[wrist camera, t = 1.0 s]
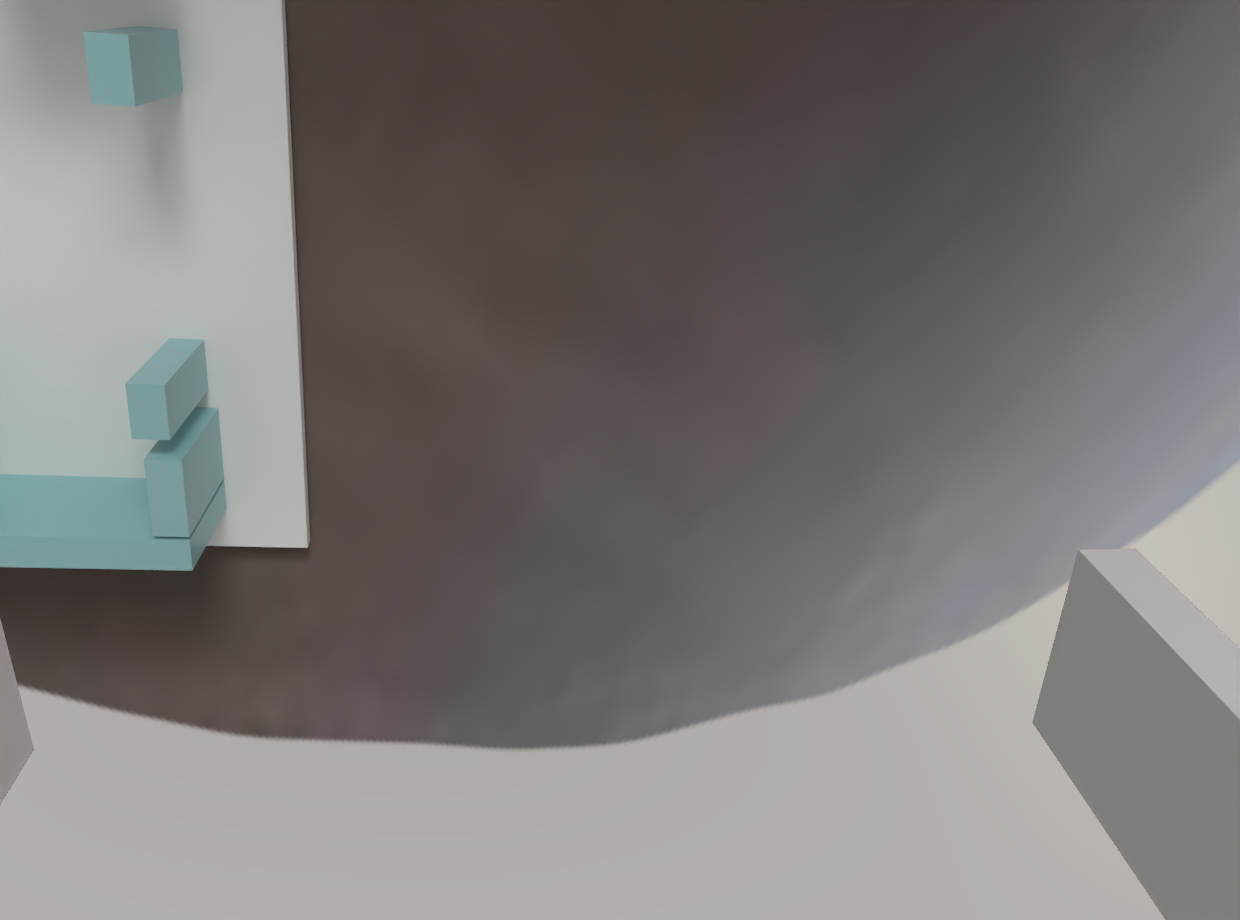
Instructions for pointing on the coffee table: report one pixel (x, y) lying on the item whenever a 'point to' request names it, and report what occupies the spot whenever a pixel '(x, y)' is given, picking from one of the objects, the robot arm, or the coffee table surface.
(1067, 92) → the coffee table surface
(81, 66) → the board
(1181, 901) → the robot arm
